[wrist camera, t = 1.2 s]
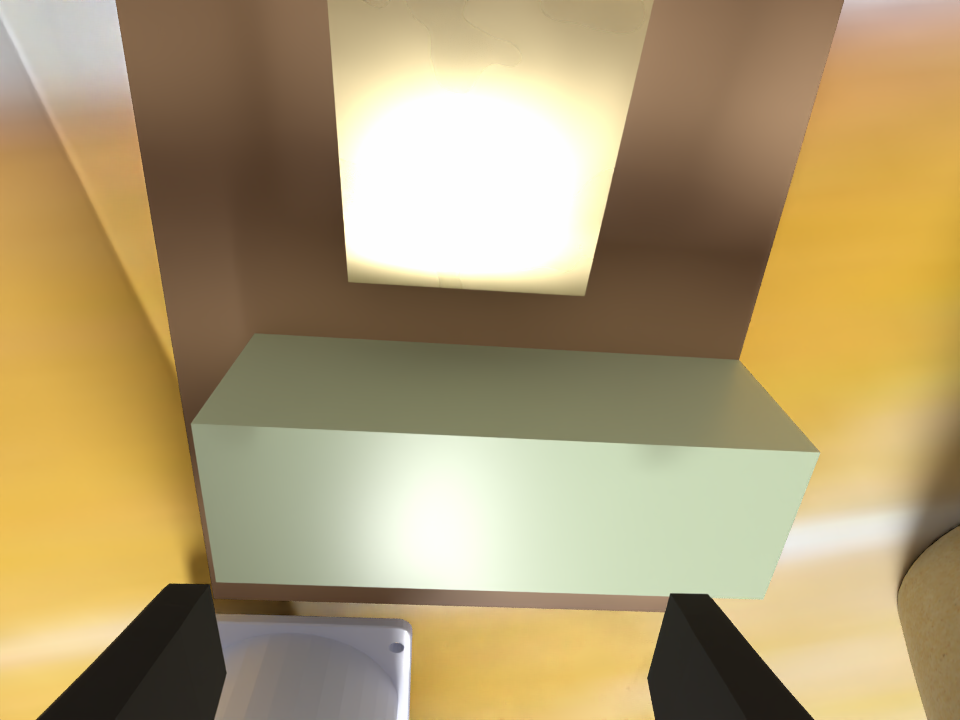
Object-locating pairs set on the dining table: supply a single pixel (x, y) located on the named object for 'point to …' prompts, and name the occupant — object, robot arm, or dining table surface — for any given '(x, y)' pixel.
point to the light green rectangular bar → (496, 469)
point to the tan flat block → (480, 136)
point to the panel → (448, 311)
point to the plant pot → (934, 625)
